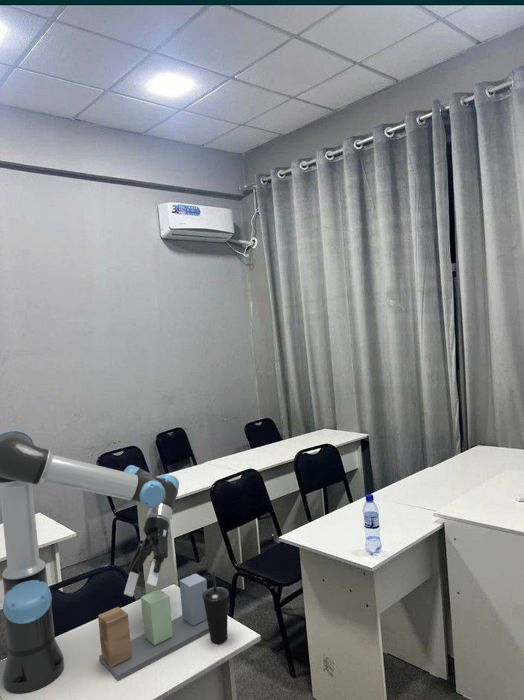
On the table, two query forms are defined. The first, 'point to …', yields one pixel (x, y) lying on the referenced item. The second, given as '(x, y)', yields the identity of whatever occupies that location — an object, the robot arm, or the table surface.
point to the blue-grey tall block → (193, 598)
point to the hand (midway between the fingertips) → (139, 590)
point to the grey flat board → (157, 647)
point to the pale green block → (156, 616)
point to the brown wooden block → (114, 636)
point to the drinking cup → (216, 612)
